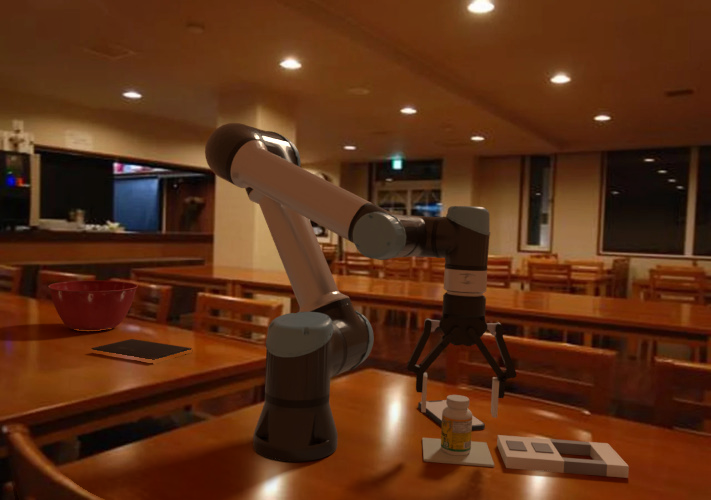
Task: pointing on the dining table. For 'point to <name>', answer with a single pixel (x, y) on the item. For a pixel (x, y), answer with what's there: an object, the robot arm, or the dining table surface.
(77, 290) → the mixing bowl
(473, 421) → the phone case
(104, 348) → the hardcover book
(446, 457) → the rubber mat
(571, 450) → the white fixture tray
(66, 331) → the dining table surface
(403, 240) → the robot arm
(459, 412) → the supplement bottle
